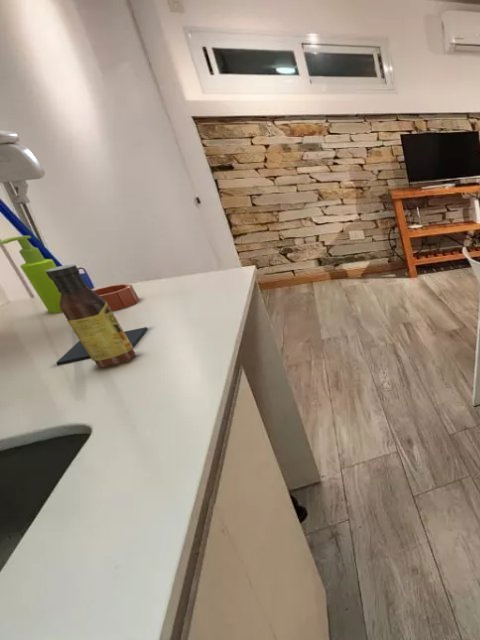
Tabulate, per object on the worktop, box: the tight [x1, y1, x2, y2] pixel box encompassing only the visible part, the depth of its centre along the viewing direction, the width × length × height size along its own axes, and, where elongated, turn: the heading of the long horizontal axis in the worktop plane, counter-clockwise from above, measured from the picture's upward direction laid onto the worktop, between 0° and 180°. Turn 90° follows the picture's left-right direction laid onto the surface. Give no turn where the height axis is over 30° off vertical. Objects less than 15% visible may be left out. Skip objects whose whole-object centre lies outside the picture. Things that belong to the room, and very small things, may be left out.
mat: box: [56, 326, 148, 366], centre depth 103 cm, size 12×12×1 cm
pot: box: [92, 283, 140, 312], centre depth 127 cm, size 10×10×4 cm
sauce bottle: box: [46, 263, 136, 368], centre depth 91 cm, size 6×6×20 cm
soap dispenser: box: [0, 235, 63, 314], centre depth 124 cm, size 6×7×20 cm
